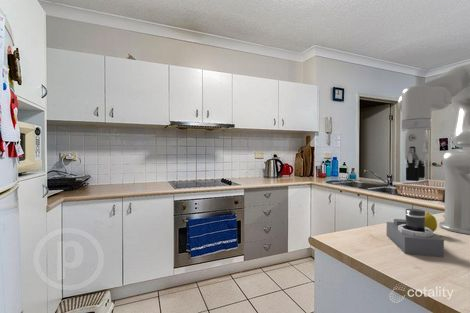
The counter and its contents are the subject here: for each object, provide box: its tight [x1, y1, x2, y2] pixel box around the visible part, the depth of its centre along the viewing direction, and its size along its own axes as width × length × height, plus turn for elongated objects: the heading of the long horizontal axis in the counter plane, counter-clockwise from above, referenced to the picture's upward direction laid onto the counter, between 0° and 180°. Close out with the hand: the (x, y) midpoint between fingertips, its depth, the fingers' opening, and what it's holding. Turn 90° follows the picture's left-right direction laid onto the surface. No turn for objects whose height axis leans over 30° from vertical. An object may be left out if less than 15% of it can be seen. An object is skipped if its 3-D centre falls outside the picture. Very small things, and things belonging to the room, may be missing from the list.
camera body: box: [386, 218, 445, 258], centre depth 79 cm, size 16×10×6 cm, turn 165°
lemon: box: [425, 212, 438, 233], centre depth 89 cm, size 6×6×8 cm
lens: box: [405, 208, 426, 232], centre depth 77 cm, size 5×5×7 cm
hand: (415, 179), depth 77 cm, fingers open, 9 cm apart
